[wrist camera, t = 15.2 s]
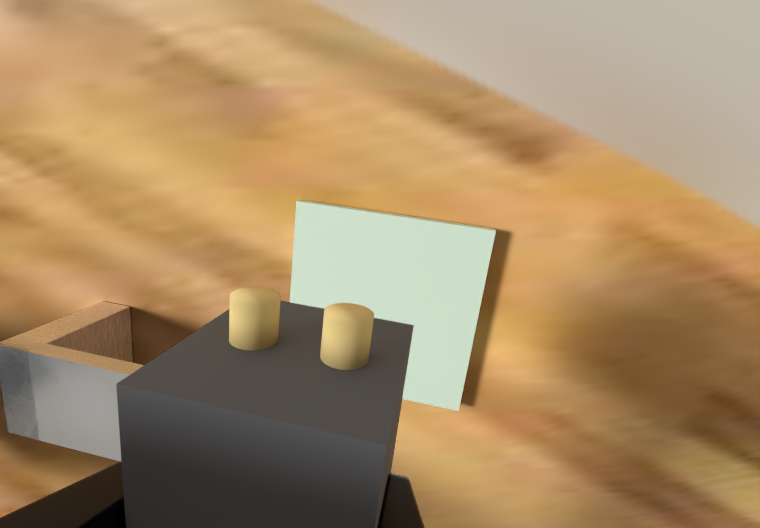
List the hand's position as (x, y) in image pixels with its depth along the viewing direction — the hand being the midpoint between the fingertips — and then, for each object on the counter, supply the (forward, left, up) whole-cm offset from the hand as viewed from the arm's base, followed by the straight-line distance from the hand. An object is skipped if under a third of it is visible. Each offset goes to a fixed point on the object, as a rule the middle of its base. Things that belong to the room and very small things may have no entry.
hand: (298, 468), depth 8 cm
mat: (0, 0, -10) cm, 10 cm away
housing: (+4, -10, -10) cm, 15 cm away
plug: (+3, 0, -1) cm, 3 cm away
